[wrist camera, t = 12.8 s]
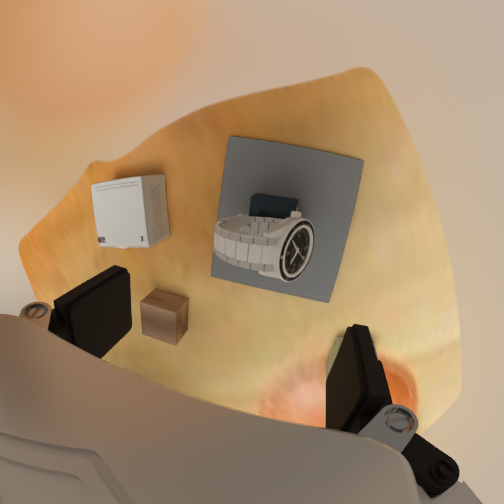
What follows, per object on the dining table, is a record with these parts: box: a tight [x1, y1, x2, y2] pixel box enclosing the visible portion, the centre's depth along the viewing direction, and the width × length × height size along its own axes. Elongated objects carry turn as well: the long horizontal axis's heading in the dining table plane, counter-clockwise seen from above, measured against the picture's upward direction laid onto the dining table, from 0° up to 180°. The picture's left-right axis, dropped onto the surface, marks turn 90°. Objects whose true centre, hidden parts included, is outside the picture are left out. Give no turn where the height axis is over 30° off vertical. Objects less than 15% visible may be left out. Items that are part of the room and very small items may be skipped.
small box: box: [91, 174, 170, 249], centre depth 31 cm, size 8×8×5 cm
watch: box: [213, 193, 315, 282], centre depth 24 cm, size 6×8×11 cm
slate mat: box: [211, 136, 364, 303], centre depth 29 cm, size 16×14×1 cm
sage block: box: [326, 336, 378, 380], centre depth 31 cm, size 5×5×4 cm
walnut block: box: [140, 289, 189, 345], centre depth 35 cm, size 5×5×4 cm
